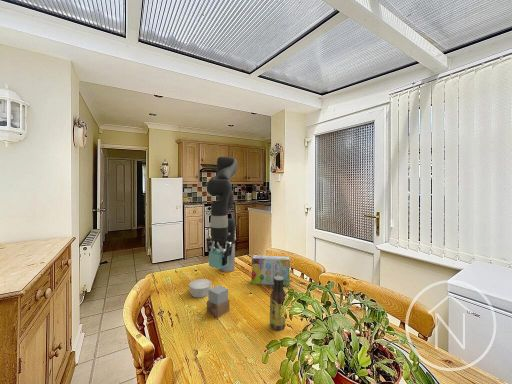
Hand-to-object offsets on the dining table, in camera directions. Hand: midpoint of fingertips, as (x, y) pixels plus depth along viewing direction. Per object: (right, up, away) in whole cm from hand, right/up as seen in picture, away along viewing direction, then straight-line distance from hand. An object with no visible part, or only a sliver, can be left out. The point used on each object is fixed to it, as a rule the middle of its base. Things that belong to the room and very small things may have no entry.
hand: (218, 263), depth 100 cm
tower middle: (0, -17, +1) cm, 17 cm away
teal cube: (0, -1, 0) cm, 1 cm away
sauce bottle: (+25, -23, -9) cm, 35 cm away
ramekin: (-12, -21, +17) cm, 30 cm away
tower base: (-1, -22, +1) cm, 22 cm away
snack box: (+24, -21, +30) cm, 44 cm away
